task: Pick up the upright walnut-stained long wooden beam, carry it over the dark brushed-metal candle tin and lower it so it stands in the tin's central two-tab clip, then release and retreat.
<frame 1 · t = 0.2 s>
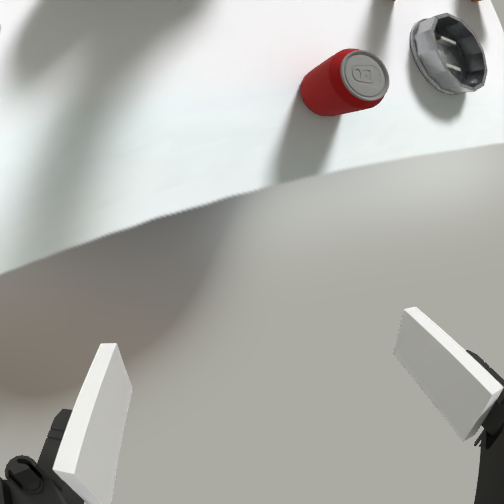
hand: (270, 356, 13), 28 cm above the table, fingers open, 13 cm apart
beverage can: (322, 93, 35), on the table
tin: (441, 55, 34), on the table
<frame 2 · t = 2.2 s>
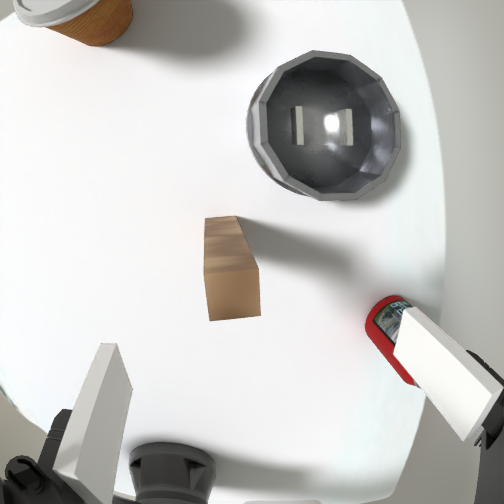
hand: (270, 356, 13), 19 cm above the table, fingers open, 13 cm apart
beverage can: (383, 315, 37), on the table
long wooden beam: (221, 231, 30), on the table
tin: (316, 127, 28), on the table
disposable coffee cup: (104, 21, 21), on the table
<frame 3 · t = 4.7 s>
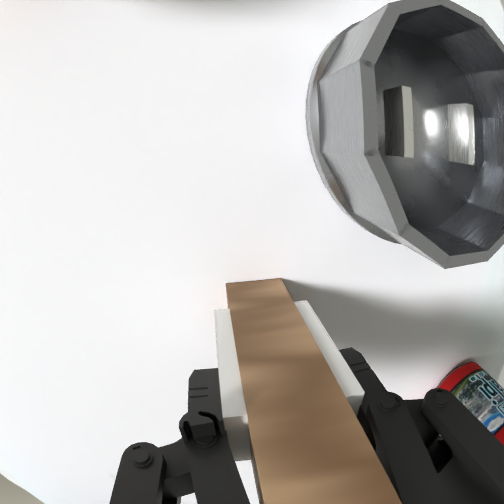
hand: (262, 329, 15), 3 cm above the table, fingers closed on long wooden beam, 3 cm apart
beverage can: (450, 382, 24), on the table
long wooden beam: (254, 305, 17), on the table, touching gripper
tin: (415, 127, 15), on the table
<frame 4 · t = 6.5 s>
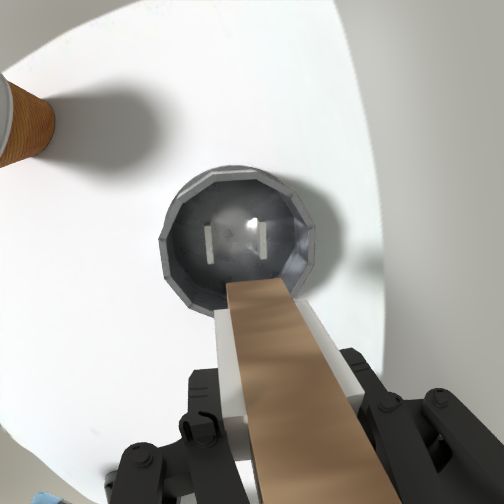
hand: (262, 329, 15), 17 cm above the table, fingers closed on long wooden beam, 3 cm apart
long wooden beam: (254, 304, 17), point 14 cm above the table, touching gripper
tin: (233, 235, 30), on the table
disposable coffee cup: (33, 127, 24), on the table
when the fingers open (5 cm above the table, at t = 8.8 s): long wooden beam drops 2 cm, resting on tin.
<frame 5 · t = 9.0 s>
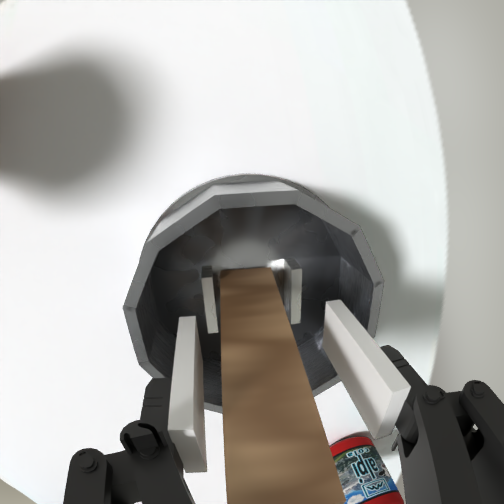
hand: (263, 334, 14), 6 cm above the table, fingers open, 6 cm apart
beverage can: (342, 447, 29), on the table
long wooden beam: (246, 290, 19), point 1 cm above the table, touching tin
tin: (248, 283, 20), on the table
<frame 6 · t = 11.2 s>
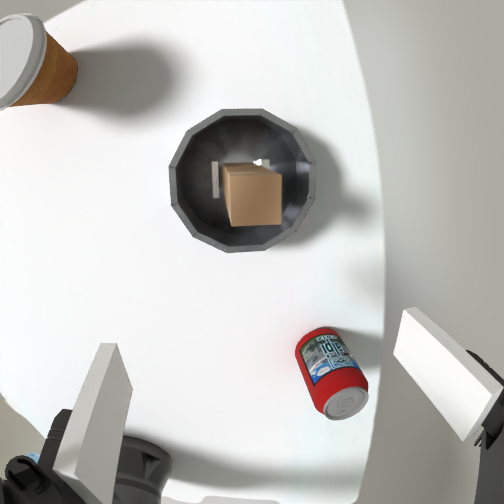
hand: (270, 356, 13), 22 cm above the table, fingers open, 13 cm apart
beverage can: (316, 344, 41), on the table
long wooden beam: (237, 176, 31), point 1 cm above the table, touching tin
tin: (239, 176, 31), on the table
disposable coffee cup: (55, 78, 25), on the table
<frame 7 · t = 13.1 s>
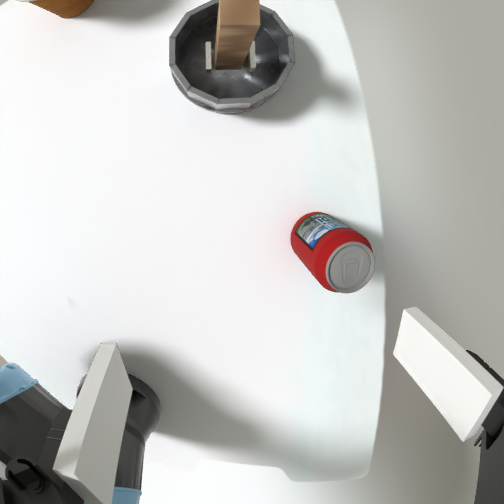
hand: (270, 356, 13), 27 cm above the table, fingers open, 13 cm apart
beverage can: (312, 234, 40), on the table
long wooden beam: (227, 58, 30), point 1 cm above the table, touching tin
tin: (229, 60, 31), on the table
disposable coffee cup: (76, 0, 24), on the table
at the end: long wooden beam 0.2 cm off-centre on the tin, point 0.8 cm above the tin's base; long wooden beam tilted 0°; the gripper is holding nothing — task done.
